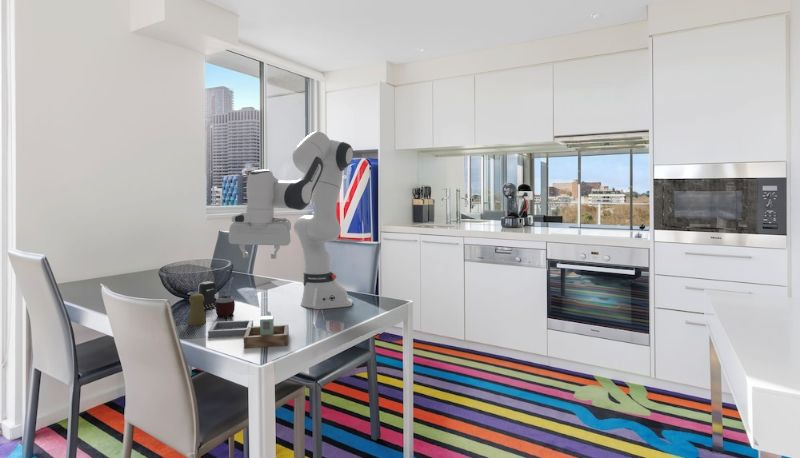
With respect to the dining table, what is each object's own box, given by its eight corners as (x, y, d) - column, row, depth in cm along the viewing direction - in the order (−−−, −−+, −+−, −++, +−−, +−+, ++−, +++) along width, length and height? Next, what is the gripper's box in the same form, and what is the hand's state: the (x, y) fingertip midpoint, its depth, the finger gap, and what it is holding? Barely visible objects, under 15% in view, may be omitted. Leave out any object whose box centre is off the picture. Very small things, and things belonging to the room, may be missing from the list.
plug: (273, 338, 151) (273, 315, 151) (273, 343, 147) (272, 319, 146) (261, 339, 150) (261, 316, 150) (260, 344, 146) (259, 320, 145)
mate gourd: (216, 320, 172) (215, 281, 171) (214, 315, 179) (213, 278, 178) (237, 318, 175) (236, 280, 174) (234, 313, 182) (233, 276, 181)
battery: (203, 311, 184) (202, 284, 183) (197, 310, 186) (196, 283, 185) (218, 308, 190) (217, 281, 189) (212, 306, 192) (212, 280, 191)
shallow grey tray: (253, 325, 166) (253, 319, 165) (249, 335, 155) (249, 329, 154) (214, 327, 163) (214, 321, 163) (208, 337, 152) (208, 331, 152)
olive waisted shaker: (200, 319, 173) (199, 291, 172) (209, 322, 169) (208, 293, 168) (185, 323, 168) (184, 294, 167) (194, 326, 164) (193, 296, 163)
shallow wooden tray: (288, 334, 156) (288, 324, 156) (287, 345, 145) (287, 334, 144) (248, 336, 153) (247, 326, 153) (243, 348, 142) (243, 337, 142)
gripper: (292, 218, 156) (292, 257, 157) (233, 216, 155) (233, 256, 156) (288, 218, 149) (288, 260, 150) (226, 216, 149) (226, 258, 150)
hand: (259, 258), depth 153 cm, fingers open, 8 cm apart
